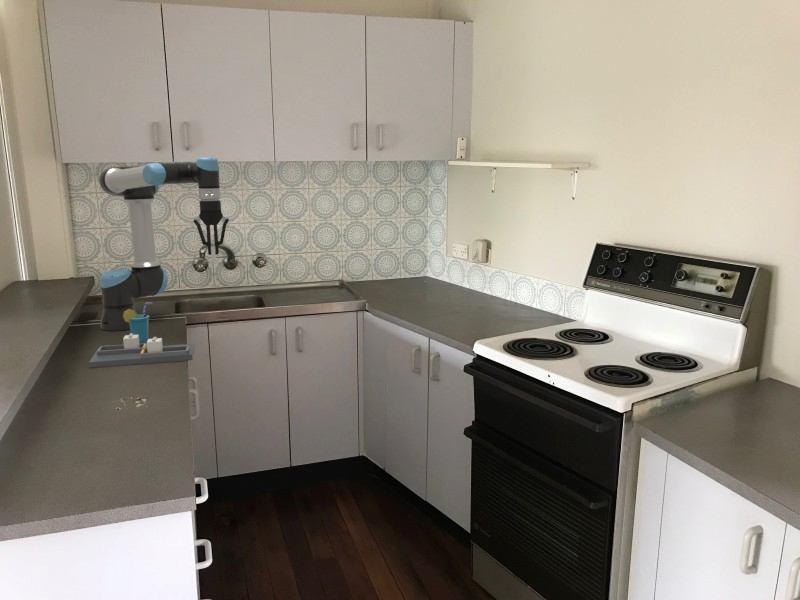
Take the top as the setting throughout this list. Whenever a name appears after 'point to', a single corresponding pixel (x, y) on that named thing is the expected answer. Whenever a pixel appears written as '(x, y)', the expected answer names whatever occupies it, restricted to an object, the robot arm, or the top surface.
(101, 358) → the switch bank
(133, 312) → the cup
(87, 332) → the top surface
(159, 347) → the tab
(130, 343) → the tab
